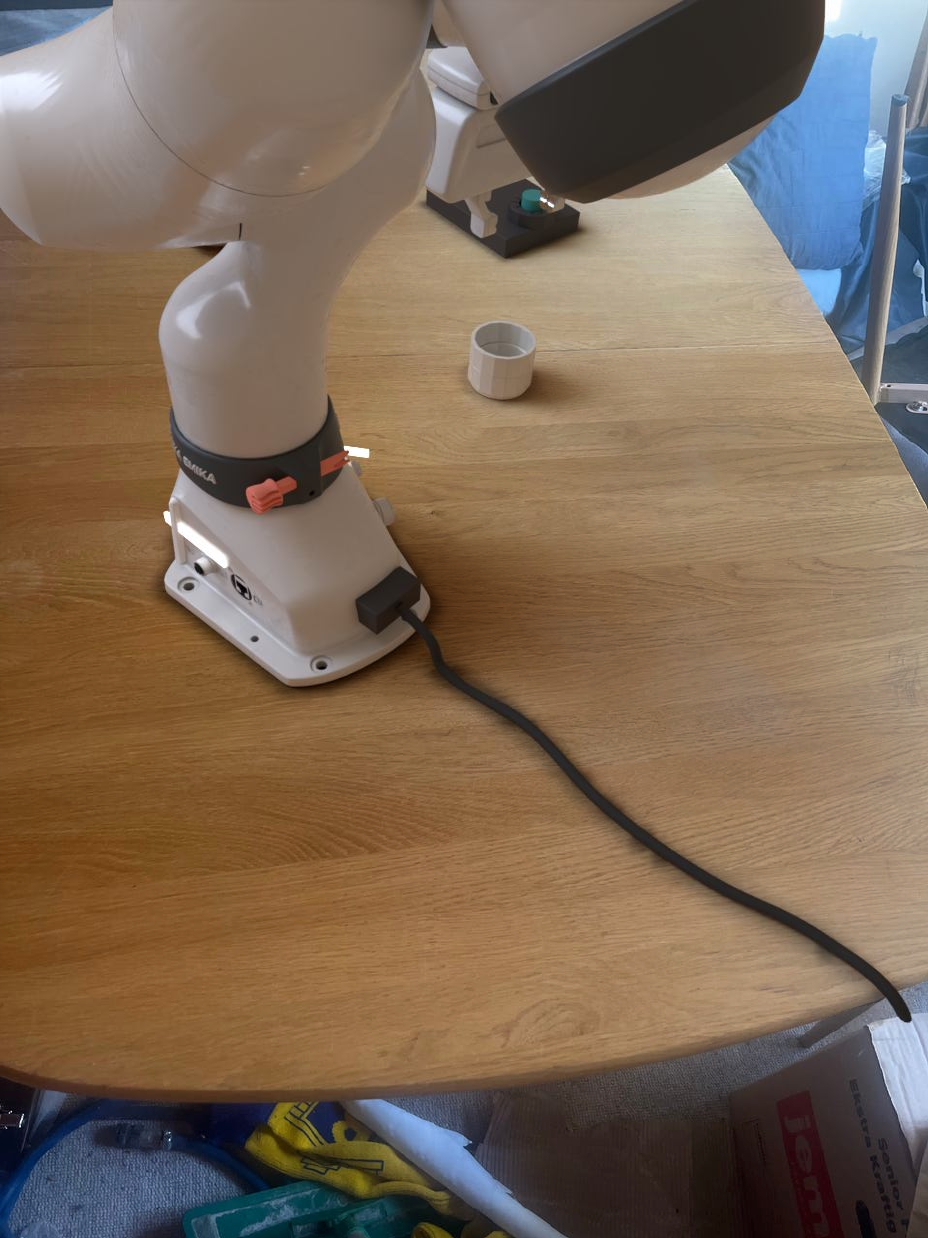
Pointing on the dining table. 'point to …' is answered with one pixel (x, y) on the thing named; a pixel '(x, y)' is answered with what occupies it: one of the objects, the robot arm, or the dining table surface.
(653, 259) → the dining table surface
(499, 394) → the white cup
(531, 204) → the button
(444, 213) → the black flat block
